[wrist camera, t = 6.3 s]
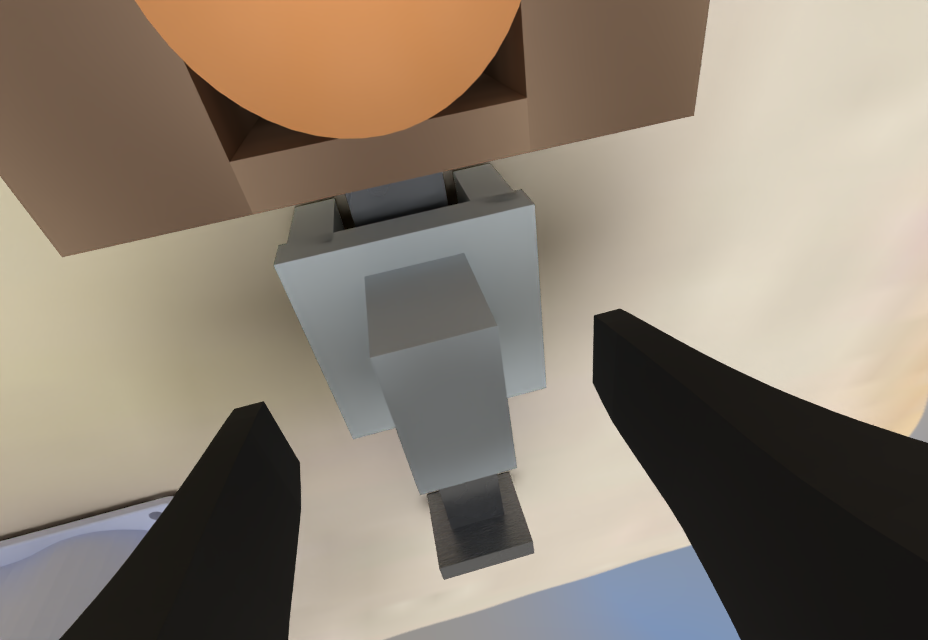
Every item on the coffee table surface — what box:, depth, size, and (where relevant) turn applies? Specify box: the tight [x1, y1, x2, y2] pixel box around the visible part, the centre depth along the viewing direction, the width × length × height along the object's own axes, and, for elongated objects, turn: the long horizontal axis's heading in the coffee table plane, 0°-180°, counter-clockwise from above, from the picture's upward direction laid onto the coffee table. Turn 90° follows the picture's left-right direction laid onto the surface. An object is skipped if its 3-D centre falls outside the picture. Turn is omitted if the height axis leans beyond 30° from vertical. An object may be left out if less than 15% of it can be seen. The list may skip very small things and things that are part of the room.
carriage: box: [274, 164, 546, 495], centre depth 12 cm, size 6×6×6 cm
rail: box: [345, 172, 534, 580], centre depth 16 cm, size 4×18×4 cm, turn 9°
